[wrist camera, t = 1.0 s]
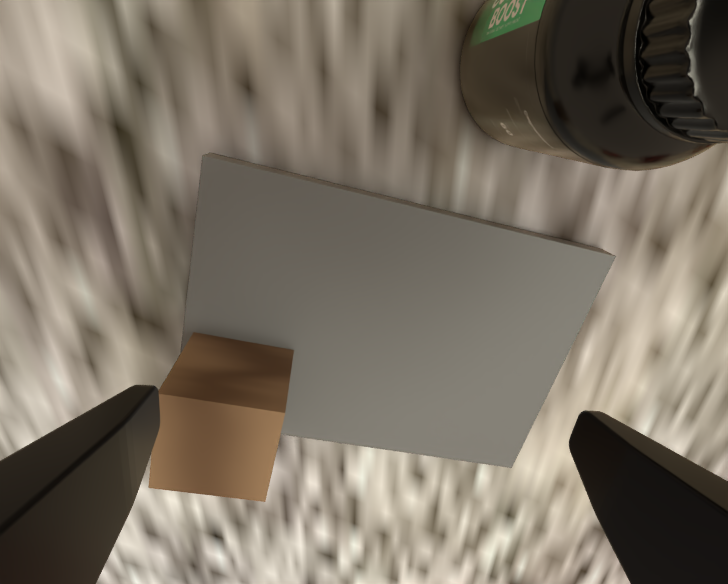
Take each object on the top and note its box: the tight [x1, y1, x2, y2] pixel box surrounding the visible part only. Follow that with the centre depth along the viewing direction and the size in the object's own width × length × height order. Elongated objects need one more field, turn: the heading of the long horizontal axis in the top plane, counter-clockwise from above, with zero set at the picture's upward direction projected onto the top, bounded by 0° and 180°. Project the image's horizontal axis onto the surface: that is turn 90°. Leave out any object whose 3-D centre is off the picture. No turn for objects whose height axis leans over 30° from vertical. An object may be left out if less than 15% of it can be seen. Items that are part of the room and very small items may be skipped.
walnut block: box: [149, 332, 294, 502], centre depth 21 cm, size 5×5×5 cm
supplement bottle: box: [460, 0, 728, 171], centre depth 14 cm, size 7×7×12 cm
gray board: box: [181, 153, 616, 468], centre depth 23 cm, size 20×14×1 cm
